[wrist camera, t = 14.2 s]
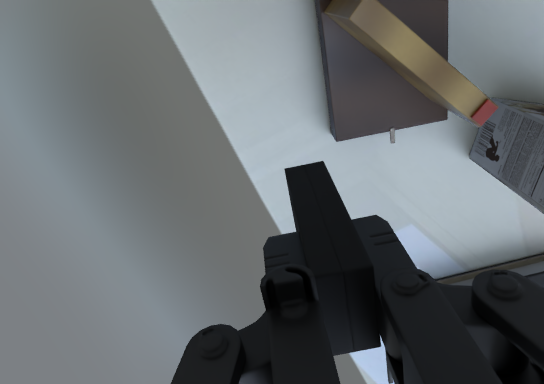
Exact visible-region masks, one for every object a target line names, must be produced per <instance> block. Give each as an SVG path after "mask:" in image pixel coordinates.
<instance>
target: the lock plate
mask: <svg viewBox="0 0 544 384" xmlns="http://www.w3.org/2000/svg"><path fill="white" fill-rule="evenodd" d="M331 1H332V0H315V4H316V12H317V20H318V28H319V36H320V44H321V52H322V60H323V68H324V76H325V84H326V92H327V100H328V108H329V116H330V124H331V133H332V136H333V137H334V139H335V140H336V142H338V141H343V140H348V139H353V138H358V137H363V136H368V135H373V134H378V133H383V132H388V131H390V140H391V143H395V131H394V130H398V129H403V128H408V127H413V126H418V125H423V124H428V123H433V122H438V121H443V120H447V109H445V108H444V107H442V106H440V105H438V104H437V103H435V102H433V101H431V100H430V99H429V98H428V97H426V96H425V95H424V94H423V93H421V92H420V91H419V90H418V89H417V88H415V87H414V86H413V85H412V84H410V83H409V82H408V81H407V80H405V79H404V78H403V77H402V76H401V75H399V74H398V73H397V72H396V71H394V70H393V69H392V68H391V67H390V66H388V65H387V64H386V63H385V62H383V61H382V60H381V59H380V58H379V57H377V56H376V55H375V54H374V53H372V52H371V51H370V50H369V49H368V48H366V47H365V46H364V45H363V44H361V43H360V42H359V41H358V40H357V39H355V38H354V37H353V36H352V35H350V34H349V33H348V32H347V31H346V30H344V29H343V28H342V27H341V26H339V25H338V24H337V23H336V22H334V21H333V20H332V19H331V18H330V17H328V16H327V15H326V14H325V13H324V11H325V10H326V8H327V7H328V5H329V4H330V2H331ZM378 1H379V2H380V3H381V4H382V5H383V6H385V7H386V8H387V9H388V10H389V11H390V12H391V13H393V14H394V15H395V16H396V17H397V18H398V19H399V20H401V21H402V22H403V23H404V24H405V25H406V26H407V27H409V28H410V29H411V30H412V31H413V32H414V33H415V34H417V35H418V36H419V37H420V38H421V39H422V40H423V41H425V42H426V43H427V44H428V45H429V46H430V47H431V48H433V49H434V50H435V51H436V52H437V53H438V54H439V55H441V56H442V57H443V58H444V59H445V60H446V61H447V62H448V0H378Z"/></svg>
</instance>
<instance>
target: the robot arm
mask: <svg viewBox="0 0 544 384" xmlns="http://www.w3.org/2000/svg"><path fill="white" fill-rule="evenodd" d="M285 174H286V180H287V185H288V190H289V195H290V201H291V206H292V211H293V217H294V222H295V227H296V232H293V233H288V234H282V235H278V236H272V237H269V238H268V239H267V241H266V243H265V245H264V247H263V250H264V261H265V272H266V274H265V276H264V277H263V278H262V279H261V284H260V288H261V292H262V297H263V300H264V304H265V308H266V311H265V313H264V314H263V315H262V316H261V317H260V318H259V319H258V320H257V321H256V322H254V323H253V324H251V325H249V326H247V327H245V328H243V329H241V330H239V331H237V330H236V329H235V328H233V327H232V326H230V325H224V324H218V325H212V326H209V327H207V328H205V329H202V330H201V331H199V332H198V333H197V334H196V335H195V336H193V337H192V339H191V340H190V342H189V343H188V345H187V346H186V349H185V351H184V354H183V356H182V358H181V361H180V363H179V365H178V368H177V370H176V373H175V375H174V377H173V380H172V382H171V384H340V381H339V377H338V373H337V369H336V365H335V361H334V357H333V356H335V355H340V354H345V353H351V352H356V351H361V350H366V349H371V348H377V347H381V342H380V336H381V338H382V341H383V343H384V346H385V350H386V361H387V373H388V381H389V384H390V383H393V380H394V383H395V384H544V289H543V288H542V287H540V286H539V285H537V284H536V283H534V282H533V281H531V280H530V279H529V278H527V277H525V276H523V275H521V274H519V273H516V272H512V271H508V270H499V269H492V270H488V271H483V272H481V273H480V274H478V275H477V276H475V278H474V280H473V282H472V286H465V285H448V284H442V283H438V282H436V281H435V280H434V279H433V278H432V277H431V276H430V275H429V274H428V273H426V272H424V271H422V270H420V269H417V268H416V266H415V264H414V263H413V261H412V260H411V258H410V257H409V255H408V253H407V252H406V250H405V249H404V247H403V245H402V244H401V242H400V241H399V239H398V237H397V236H396V234H395V233H394V231H393V229H392V228H391V226H390V225H389V223H388V222H387V221H386V220H384V219H382V218H381V217H379V216H377V215H373V216H368V217H363V218H358V219H352V220H351V218H350V216H349V214H348V212H347V210H346V207H345V205H344V203H343V201H342V199H341V197H340V195H339V193H338V191H337V189H336V187H335V185H334V182H333V180H332V178H331V176H330V174H329V172H328V170H327V168H326V166H325V164H324V162H323V161H321V162H316V163H311V164H306V165H301V166H296V167H291V168H286V169H285Z"/></svg>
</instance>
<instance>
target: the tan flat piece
mask: <svg viewBox="0 0 544 384" xmlns="http://www.w3.org/2000/svg"><path fill="white" fill-rule="evenodd" d="M324 13H325V14H326V15H327V16H328V17H330V18H331V19H332V20H333V21H334V22H336V23H337V24H338V25H339V26H341V27H342V28H343V29H344V30H346V31H347V32H348V33H349V34H350V35H352V36H353V37H354V38H355V39H357V40H358V41H359V42H360V43H361V44H363V45H364V46H365V47H366V48H368V49H369V50H370V51H371V52H372V53H374V54H375V55H376V56H377V57H379V58H380V59H381V60H382V61H383V62H385V63H386V64H387V65H388V66H390V67H391V68H392V69H393V70H394V71H396V72H397V73H398V74H399V75H401V76H402V77H403V78H404V79H405V80H407V81H408V82H409V83H410V84H412V85H413V86H414V87H415V88H417V89H418V90H419V91H420V92H421V93H423V94H424V95H425V96H426V97H428V98H429V99H430V100H431V101H433V102H435V103H437V104H438V105H440V106H442V107H444V108H445V109H447V110H449V111H451V112H452V113H454V114H456V115H458V116H459V117H461V118H463V119H465V120H467V121H468V122H470V123H472V124H474V125H475V126H477V127H479V128H480V127H481V126H482V125H483V124H484V123H485V122H486V121H487V120H488V119H489V117H490V116H491V115H492V114H493V113H494V112H495V111H496V110H497V109H498V108H499V106H498V105H497V104H495V103H494V102H493V101H492V100H491V99H490V98H489V97H487V96H486V95H485V94H484V93H483V92H482V91H481V90H479V89H478V88H477V87H476V86H475V85H474V84H473V83H471V82H470V81H469V80H468V79H467V78H466V77H465V76H463V75H462V74H461V73H460V72H459V71H458V70H457V69H455V68H454V67H453V66H452V65H451V64H450V63H449V62H447V61H446V60H445V59H444V58H443V57H442V56H441V55H439V54H438V53H437V52H436V51H435V50H434V49H433V48H431V47H430V46H429V45H428V44H427V43H426V42H425V41H423V40H422V39H421V38H420V37H419V36H418V35H417V34H415V33H414V32H413V31H412V30H411V29H410V28H409V27H407V26H406V25H405V24H404V23H403V22H402V21H401V20H399V19H398V18H397V17H396V16H395V15H394V14H393V13H391V12H390V11H389V10H388V9H387V8H386V7H385V6H383V5H382V4H381V3H380V2H379V1H378V0H332V1H331V2H330V4H329V5H328V7H327V8H326V10H325V11H324Z"/></svg>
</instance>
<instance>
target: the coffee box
mask: <svg viewBox="0 0 544 384" xmlns="http://www.w3.org/2000/svg"><path fill="white" fill-rule="evenodd" d="M491 100H492V101H493V102H494V103H495V104H497V105H498V106H499V108H498V109H497V110H496V111H495V112H494V113H493V114H492V115H491V116H490V117H489V119H488V120H487V121H486V122H485V123H484V124H483V125H482V126H481V127H480V128H479V131H478V133H477V136H476V139H475V142H474V145H473V147H472V150H471V153H470V156H469V158H470V159H471V160H472V161H473V162H475V163H476V164H478V165H479V166H481V167H482V168H483V169H484V170H486V171H487V172H489V173H490V174H491V175H492V176H494V177H495V178H496V179H498V180H499V181H501V182H502V183H503V184H505V185H506V186H507V187H509V188H510V189H511V190H512V191H514V192H515V193H517V194H518V195H519V196H521V197H522V198H523V199H525V200H526V201H527V202H529V203H530V204H531V205H533V206H534V207H535V208H537V209H538V210H539V211H541V212H542V213H543V214H544V104H537V103H530V102H522V101H514V100H506V99H499V98H491Z"/></svg>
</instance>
